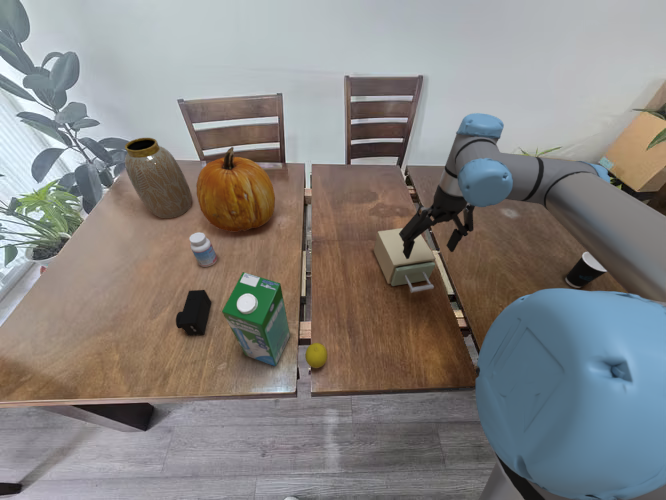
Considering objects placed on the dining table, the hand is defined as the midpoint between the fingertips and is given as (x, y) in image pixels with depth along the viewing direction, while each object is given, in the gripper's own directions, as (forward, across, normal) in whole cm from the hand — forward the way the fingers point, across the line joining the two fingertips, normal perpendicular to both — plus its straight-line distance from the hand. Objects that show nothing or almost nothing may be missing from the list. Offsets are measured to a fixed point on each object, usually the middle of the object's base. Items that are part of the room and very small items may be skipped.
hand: (428, 252), depth 78 cm
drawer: (+15, +1, -4) cm, 15 cm away
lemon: (+16, +35, +18) cm, 43 cm away
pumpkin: (+16, +54, -42) cm, 70 cm away
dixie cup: (+16, -54, +10) cm, 57 cm away
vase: (+16, +82, -55) cm, 100 cm away
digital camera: (+16, +66, -1) cm, 68 cm away
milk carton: (+16, +47, +11) cm, 51 cm away
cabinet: (+16, +1, -9) cm, 18 cm away
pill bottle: (+16, +65, -23) cm, 71 cm away
